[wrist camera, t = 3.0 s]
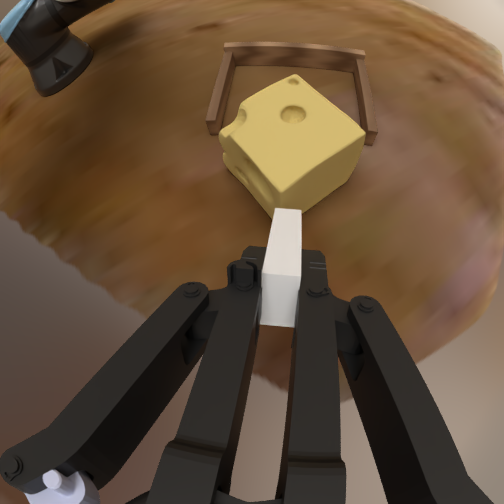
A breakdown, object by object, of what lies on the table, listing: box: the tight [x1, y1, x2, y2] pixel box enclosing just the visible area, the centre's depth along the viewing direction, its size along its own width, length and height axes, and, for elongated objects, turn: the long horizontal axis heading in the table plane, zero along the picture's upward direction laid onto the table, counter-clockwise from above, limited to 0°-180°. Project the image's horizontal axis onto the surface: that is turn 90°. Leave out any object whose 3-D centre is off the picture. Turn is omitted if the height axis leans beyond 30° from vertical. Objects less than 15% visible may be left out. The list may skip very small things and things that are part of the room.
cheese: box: [219, 74, 366, 220], centre depth 28 cm, size 10×11×10 cm
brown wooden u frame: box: [206, 42, 378, 146], centre depth 34 cm, size 20×15×4 cm
